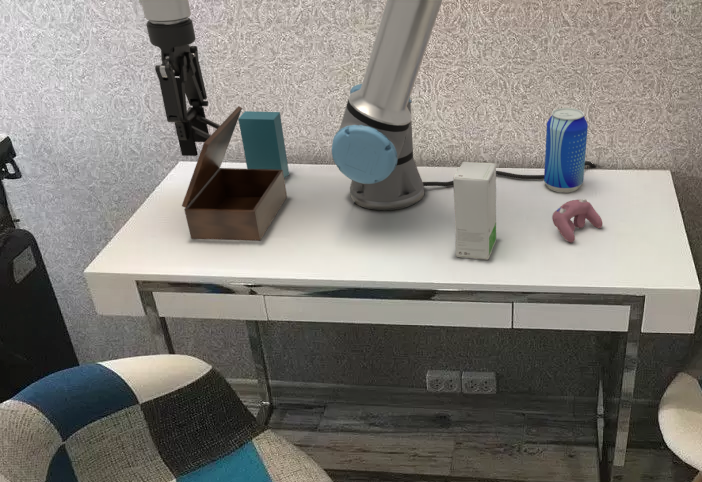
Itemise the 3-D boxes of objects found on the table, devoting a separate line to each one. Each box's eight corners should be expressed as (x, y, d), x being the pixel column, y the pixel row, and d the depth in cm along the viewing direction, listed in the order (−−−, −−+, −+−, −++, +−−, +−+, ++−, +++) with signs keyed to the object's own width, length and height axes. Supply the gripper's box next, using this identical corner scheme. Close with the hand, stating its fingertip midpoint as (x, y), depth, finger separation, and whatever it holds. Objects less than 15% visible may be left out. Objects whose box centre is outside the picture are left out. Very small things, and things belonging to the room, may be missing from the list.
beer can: (556, 174, 174) (561, 103, 165) (590, 184, 170) (596, 111, 161) (536, 187, 169) (539, 114, 160) (570, 197, 165) (575, 123, 156)
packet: (289, 173, 174) (279, 111, 166) (283, 182, 171) (273, 119, 163) (255, 173, 175) (244, 111, 167) (249, 181, 171) (238, 118, 163)
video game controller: (588, 229, 157) (578, 195, 155) (606, 226, 153) (596, 191, 151) (556, 245, 151) (545, 210, 149) (573, 243, 147) (562, 207, 146)
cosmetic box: (488, 261, 143) (489, 181, 134) (452, 257, 144) (451, 177, 135) (497, 239, 150) (498, 162, 141) (463, 236, 151) (462, 159, 142)
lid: (242, 107, 153) (203, 88, 151) (208, 145, 137) (164, 123, 136) (220, 166, 160) (183, 148, 159) (185, 208, 145) (144, 188, 143)
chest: (287, 199, 164) (282, 169, 160) (260, 243, 148) (254, 211, 144) (225, 197, 164) (219, 167, 161) (191, 241, 149) (184, 209, 145)
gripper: (168, 5, 143) (195, 129, 156) (123, 33, 127) (156, 167, 140) (209, 6, 143) (232, 130, 156) (168, 34, 127) (198, 168, 140)
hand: (196, 147), depth 148 cm, fingers closed on lid, 6 cm apart
